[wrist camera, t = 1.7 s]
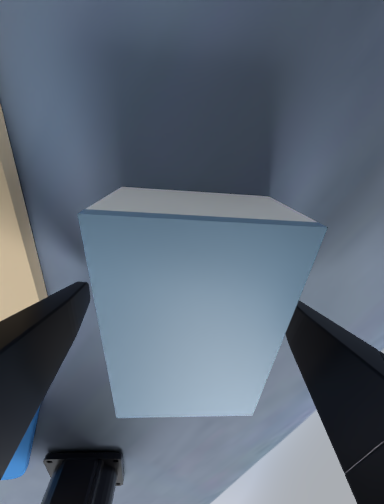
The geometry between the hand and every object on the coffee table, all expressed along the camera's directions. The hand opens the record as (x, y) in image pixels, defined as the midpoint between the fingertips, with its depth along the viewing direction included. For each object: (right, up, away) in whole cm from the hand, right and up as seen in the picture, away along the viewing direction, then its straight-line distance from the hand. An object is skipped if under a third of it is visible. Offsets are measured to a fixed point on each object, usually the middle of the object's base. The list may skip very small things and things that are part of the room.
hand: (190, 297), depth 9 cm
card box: (0, +1, +1) cm, 1 cm away
